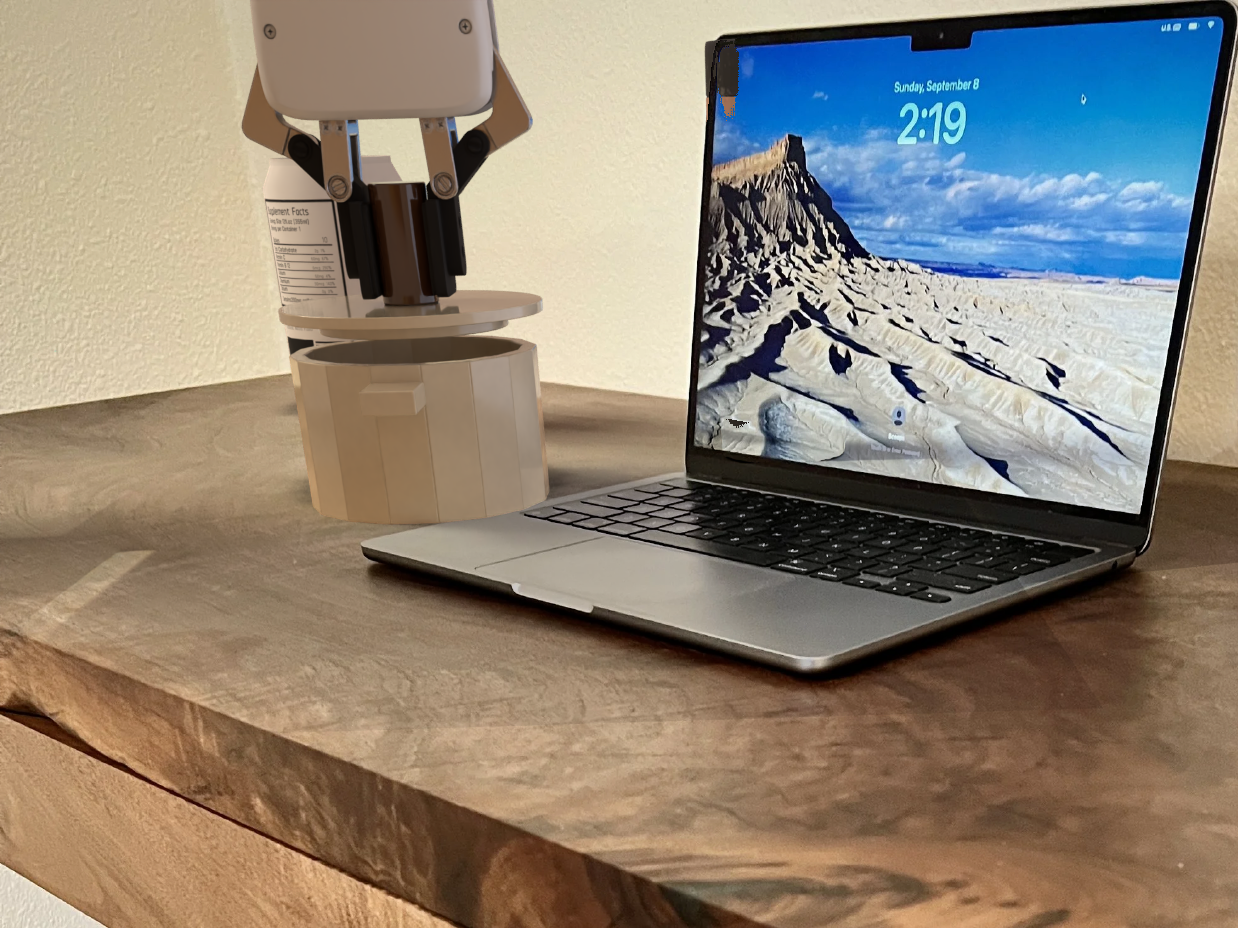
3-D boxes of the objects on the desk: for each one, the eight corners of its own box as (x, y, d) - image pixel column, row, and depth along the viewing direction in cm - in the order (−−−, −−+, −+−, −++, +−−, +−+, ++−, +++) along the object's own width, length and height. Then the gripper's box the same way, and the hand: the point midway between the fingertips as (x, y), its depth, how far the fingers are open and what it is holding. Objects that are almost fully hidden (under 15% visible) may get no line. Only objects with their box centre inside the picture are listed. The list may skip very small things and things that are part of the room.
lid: (253, 348, 71) (226, 191, 68) (312, 317, 81) (291, 180, 78) (531, 340, 71) (517, 183, 68) (554, 310, 82) (542, 173, 78)
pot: (280, 552, 73) (250, 377, 69) (351, 479, 87) (329, 331, 84) (532, 545, 73) (516, 370, 69) (561, 473, 88) (549, 326, 84)
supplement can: (298, 420, 105) (255, 157, 97) (426, 412, 107) (394, 153, 99) (304, 440, 98) (259, 160, 91) (441, 431, 100) (407, 155, 93)
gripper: (552, -187, 70) (588, 283, 79) (175, -178, 69) (256, 293, 78) (536, -217, 63) (577, 298, 72) (119, -208, 63) (215, 309, 72)
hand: (410, 291), depth 75 cm, fingers closed on lid, 2 cm apart
